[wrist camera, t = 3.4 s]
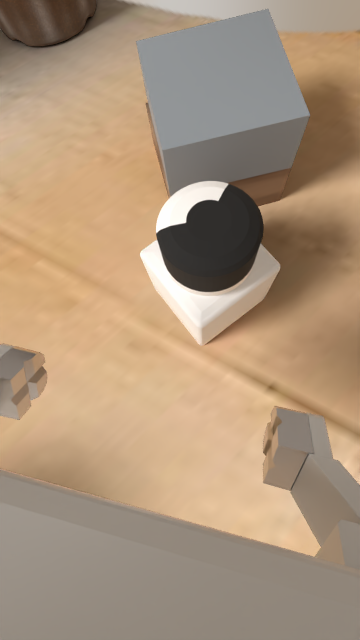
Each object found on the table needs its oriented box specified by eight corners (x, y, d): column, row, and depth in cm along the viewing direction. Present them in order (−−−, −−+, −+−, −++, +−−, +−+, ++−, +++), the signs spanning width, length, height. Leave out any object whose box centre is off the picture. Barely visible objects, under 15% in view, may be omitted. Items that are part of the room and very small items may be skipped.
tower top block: (147, 101, 29) (136, 41, 25) (257, 74, 29) (268, 8, 24) (170, 196, 27) (162, 150, 22) (291, 167, 27) (310, 115, 22)
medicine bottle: (265, 298, 29) (304, 227, 17) (201, 348, 28) (197, 308, 17) (214, 241, 31) (219, 142, 19) (152, 286, 30) (118, 212, 18)
